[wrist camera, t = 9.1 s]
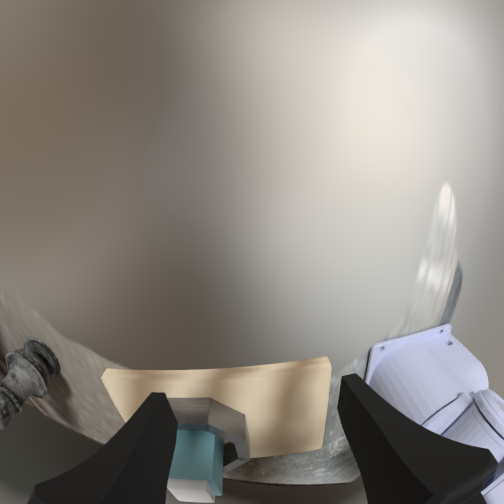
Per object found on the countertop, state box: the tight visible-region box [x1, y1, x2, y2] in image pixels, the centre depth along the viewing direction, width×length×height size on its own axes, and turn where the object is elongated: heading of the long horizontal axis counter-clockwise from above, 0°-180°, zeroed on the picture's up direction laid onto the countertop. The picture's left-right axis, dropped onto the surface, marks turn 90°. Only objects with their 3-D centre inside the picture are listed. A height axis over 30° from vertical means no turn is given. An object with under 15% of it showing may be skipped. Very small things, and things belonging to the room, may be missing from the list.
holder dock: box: [101, 356, 332, 473], centre depth 21 cm, size 20×13×4 cm, turn 96°
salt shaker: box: [0, 337, 60, 430], centre depth 16 cm, size 6×6×12 cm
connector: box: [167, 430, 224, 503], centre depth 18 cm, size 4×4×8 cm
